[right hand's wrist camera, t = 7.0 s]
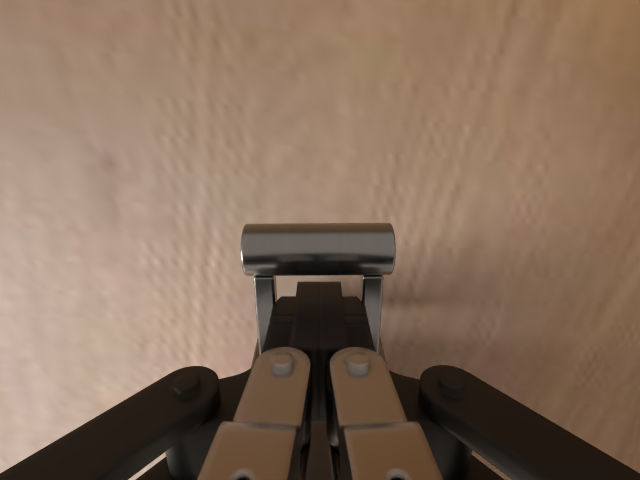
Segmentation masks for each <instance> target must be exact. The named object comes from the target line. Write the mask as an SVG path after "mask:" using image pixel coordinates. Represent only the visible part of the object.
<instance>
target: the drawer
mask: <svg viewBox="0 0 640 480" xmlns="http://www.w3.org/2000/svg"><path fill="white" fill-rule="evenodd" d="M395 254H396V247H395V235H394V230H393V227H392V225H391V224H390V223H306V224H246V225H245V226H244V228H243V232H242V238H241V262H242V268H243V271H244V274H245V275H247V276H254V292H255V304H256V317H257V329H258V340H257V344H256V348H255V353H254V357H253V361H252V365H251V368H252V367H253V365H254V362H255V360H256V359H257V358H258V357H259V356H260V355H261V354H262V352H263V347H264V343H265V338H266V334H267V330H268V325H269V321H270V317H271V312H272V308H273V305H274V304H275V303H276V302H277V288H276V276H287V275H361V289H360V300H361V301H362V304H365V307H366V312H367V316H368V321H369V326H370V330H371V335H372V339H373V344H374V348H375V352H376V353H378V354H379V355H380V356H382V358H383V359H384V360H385V356H384V352H383V348H382V344H381V340H380V322H381V307H382V292H383V275H390V274H392V272H393V269H394V265H395ZM385 362H386V360H385ZM386 365H387V364H386ZM308 480H332V472H331V464H330V455H329V441H328V438H327V434H326V421H311V456H310V465H309V473H308Z"/></svg>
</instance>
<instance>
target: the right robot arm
mask: <svg viewBox="0 0 640 480" xmlns="http://www.w3.org/2000/svg"><path fill="white" fill-rule="evenodd" d="M311 421H326V434H327V438H328V441H329V455H330V464H331V472H332V480H504V479H503V478H501V477H500V476H499V475H498V474H496V473H495V472H494V471H492V470H491V469H490V468H488V467H487V466H486V465H484V464H483V463H482V462H480V461H479V460H478V459H476V458H475V457H474V456H473V455H471V454H472V450H473V451H475V452H476V453H477V454H479V455H480V456H481V457H483V458H484V459H485V460H487V461H488V462H489V463H491V464H492V465H493V466H495V467H496V468H498V469H499V470H500V471H502V472H503V473H504V474H506V475H507V476H508V477H510V478H511V479H512V480H640V473H638V472H636V471H635V470H633V469H631V468H629V467H628V466H626V465H624V464H623V463H621V462H619V461H618V460H616V459H614V458H612V457H611V456H609V455H607V454H606V453H604V452H602V451H601V450H599V449H597V448H596V447H594V446H592V445H590V444H589V443H587V442H585V441H584V440H582V439H580V438H579V437H577V436H575V435H573V434H572V433H570V432H568V431H567V430H565V429H563V428H562V427H560V426H558V425H557V424H555V423H553V422H551V421H550V420H548V419H546V418H545V417H543V416H541V415H540V414H538V413H536V412H534V411H533V410H531V409H529V408H528V407H526V406H524V405H523V404H521V403H519V402H518V401H516V400H514V399H512V398H511V397H509V396H507V395H506V394H504V393H502V392H501V391H499V390H497V389H495V388H494V387H492V386H490V385H489V384H487V383H485V382H484V381H482V380H480V379H479V378H477V377H475V376H473V375H472V374H470V373H468V372H466V371H464V370H462V369H460V368H457V367H453V366H446V365H438V366H433V367H430V368H428V369H426V370H425V371H424V372H423V373H422V375H421V377H420V380H419V379H414V378H410V377H406V376H402V375H399V374H396V373H394V372H392V371H390V370H388V367H387V365H386V362H385V360H384V359H383V358H382V356H380V355H379V354H378V353H376V352H375V348H374V344H373V339H372V335H371V330H370V326H369V321H368V316H367V312H366V307H365V304H362V301H361V300H360V299H359V298H358V297H342V291H341V282H298V284H297V292H296V297H281V298H280V299H279V300H278V301H277V302H276V303H275V304H274V305H273V308H272V312H271V317H270V321H269V325H268V330H267V334H266V338H265V343H264V347H263V352H262V354H261V355H260V356H259V357H258V358H257V359H256V360H255V362H254V365H253V367H252V368H251V369H249V370H247V371H246V372H244V373H241V374H238V375H235V376H231V377H227V378H222V379H218V376H217V374H216V373H215V372H214V371H213V370H211V369H209V368H206V367H202V366H190V367H185V368H182V369H179V370H176V371H174V372H172V373H170V374H168V375H167V376H165V377H163V378H162V379H160V380H158V381H157V382H155V383H153V384H151V385H150V386H148V387H146V388H145V389H143V390H141V391H140V392H138V393H136V394H135V395H133V396H131V397H129V398H128V399H126V400H124V401H123V402H121V403H119V404H118V405H116V406H114V407H112V408H111V409H109V410H107V411H106V412H104V413H102V414H101V415H99V416H97V417H95V418H94V419H92V420H90V421H89V422H87V423H85V424H84V425H82V426H80V427H79V428H77V429H75V430H73V431H72V432H70V433H68V434H67V435H65V436H63V437H62V438H60V439H58V440H56V441H55V442H53V443H51V444H50V445H48V446H46V447H45V448H43V449H41V450H39V451H38V452H36V453H34V454H33V455H31V456H29V457H28V458H26V459H24V460H23V461H21V462H19V463H17V464H16V465H14V466H12V467H11V468H9V469H7V470H6V471H4V472H2V473H0V480H128V479H129V478H131V477H132V476H133V475H135V474H136V473H137V472H139V471H140V470H141V469H143V468H144V467H145V466H147V465H148V464H149V463H151V462H152V461H153V460H155V459H156V458H157V457H159V456H160V455H161V454H163V453H164V452H165V453H166V457H165V458H164V459H162V460H161V461H160V462H158V463H157V464H156V465H154V466H153V467H152V468H150V469H149V470H148V471H147V472H145V473H144V474H143V475H141V476H140V477H139V478H137V479H136V480H308V473H309V465H310V456H311Z"/></svg>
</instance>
